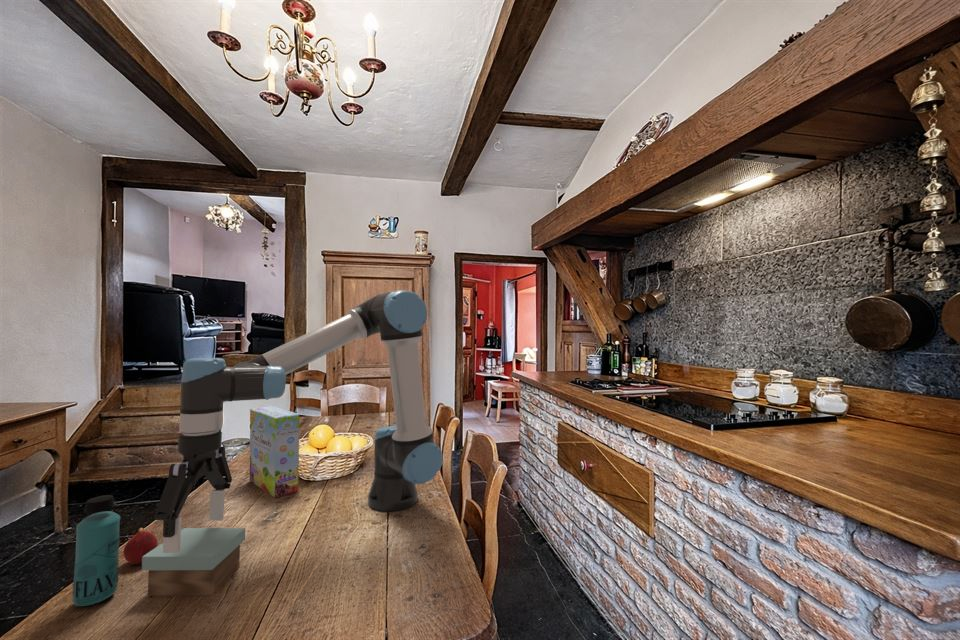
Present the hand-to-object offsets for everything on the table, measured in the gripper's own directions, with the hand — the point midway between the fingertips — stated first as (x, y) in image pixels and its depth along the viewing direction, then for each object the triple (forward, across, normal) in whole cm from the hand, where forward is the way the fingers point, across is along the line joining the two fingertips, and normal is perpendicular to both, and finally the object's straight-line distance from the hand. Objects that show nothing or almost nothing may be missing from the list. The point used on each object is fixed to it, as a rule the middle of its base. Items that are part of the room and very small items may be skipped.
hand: (195, 534), depth 84 cm
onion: (+10, -7, -17) cm, 21 cm away
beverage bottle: (+10, +6, -15) cm, 19 cm away
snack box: (+10, -53, -10) cm, 55 cm away
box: (+10, 0, 0) cm, 10 cm away
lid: (+4, 0, 0) cm, 4 cm away
